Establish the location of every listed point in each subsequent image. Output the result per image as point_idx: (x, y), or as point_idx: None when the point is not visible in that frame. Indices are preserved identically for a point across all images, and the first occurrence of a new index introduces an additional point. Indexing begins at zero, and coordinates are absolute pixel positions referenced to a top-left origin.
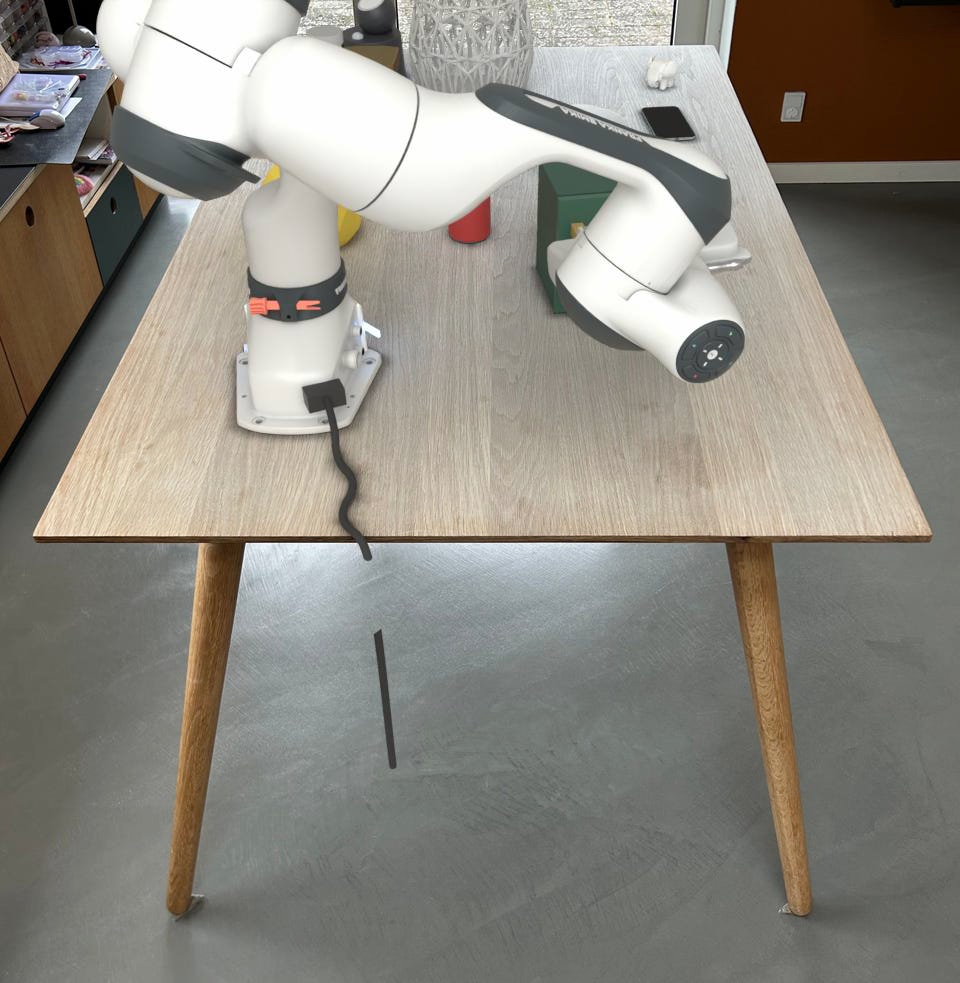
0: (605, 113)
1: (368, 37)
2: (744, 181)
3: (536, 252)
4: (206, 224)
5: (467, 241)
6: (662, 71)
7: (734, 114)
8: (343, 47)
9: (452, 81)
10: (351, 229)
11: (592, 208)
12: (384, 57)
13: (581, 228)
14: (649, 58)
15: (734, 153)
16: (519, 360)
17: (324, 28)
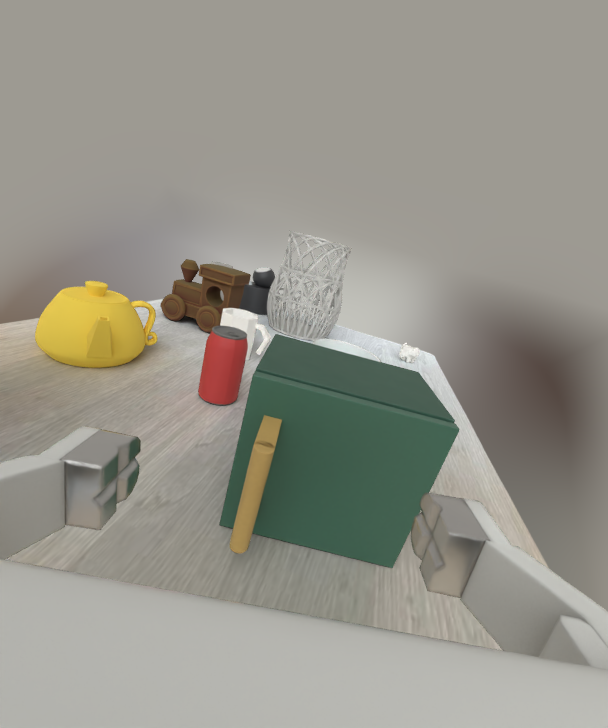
0: (368, 354)
1: (254, 285)
2: (462, 434)
3: None
4: (35, 321)
5: (207, 400)
6: (410, 351)
7: (451, 388)
8: None
9: (291, 321)
10: (107, 354)
11: (300, 404)
12: (234, 272)
13: (79, 437)
14: (404, 343)
15: (453, 411)
16: None
17: (224, 264)
